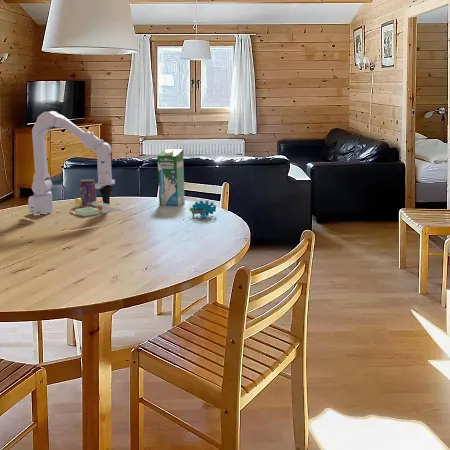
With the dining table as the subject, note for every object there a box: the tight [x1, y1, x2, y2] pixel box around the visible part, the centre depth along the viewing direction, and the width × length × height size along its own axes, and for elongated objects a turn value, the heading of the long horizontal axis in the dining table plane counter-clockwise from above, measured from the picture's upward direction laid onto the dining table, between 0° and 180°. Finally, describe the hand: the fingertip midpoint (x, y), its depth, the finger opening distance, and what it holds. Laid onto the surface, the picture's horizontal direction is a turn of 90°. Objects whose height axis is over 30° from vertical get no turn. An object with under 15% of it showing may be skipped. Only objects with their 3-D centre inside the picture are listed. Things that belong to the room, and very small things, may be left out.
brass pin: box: [74, 197, 83, 210], centre depth 264 cm, size 3×3×6 cm
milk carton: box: [157, 148, 186, 207], centre depth 279 cm, size 9×9×25 cm
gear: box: [189, 200, 217, 220], centre depth 251 cm, size 11×6×10 cm
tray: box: [74, 207, 99, 218], centre depth 257 cm, size 7×7×2 cm
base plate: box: [85, 200, 123, 218], centre depth 265 cm, size 19×17×4 cm
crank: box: [87, 200, 111, 207], centre depth 263 cm, size 10×3×4 cm, turn 74°
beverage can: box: [79, 178, 97, 207], centre depth 280 cm, size 7×7×12 cm
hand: (106, 203), depth 261 cm, fingers closed, pressing on crank
